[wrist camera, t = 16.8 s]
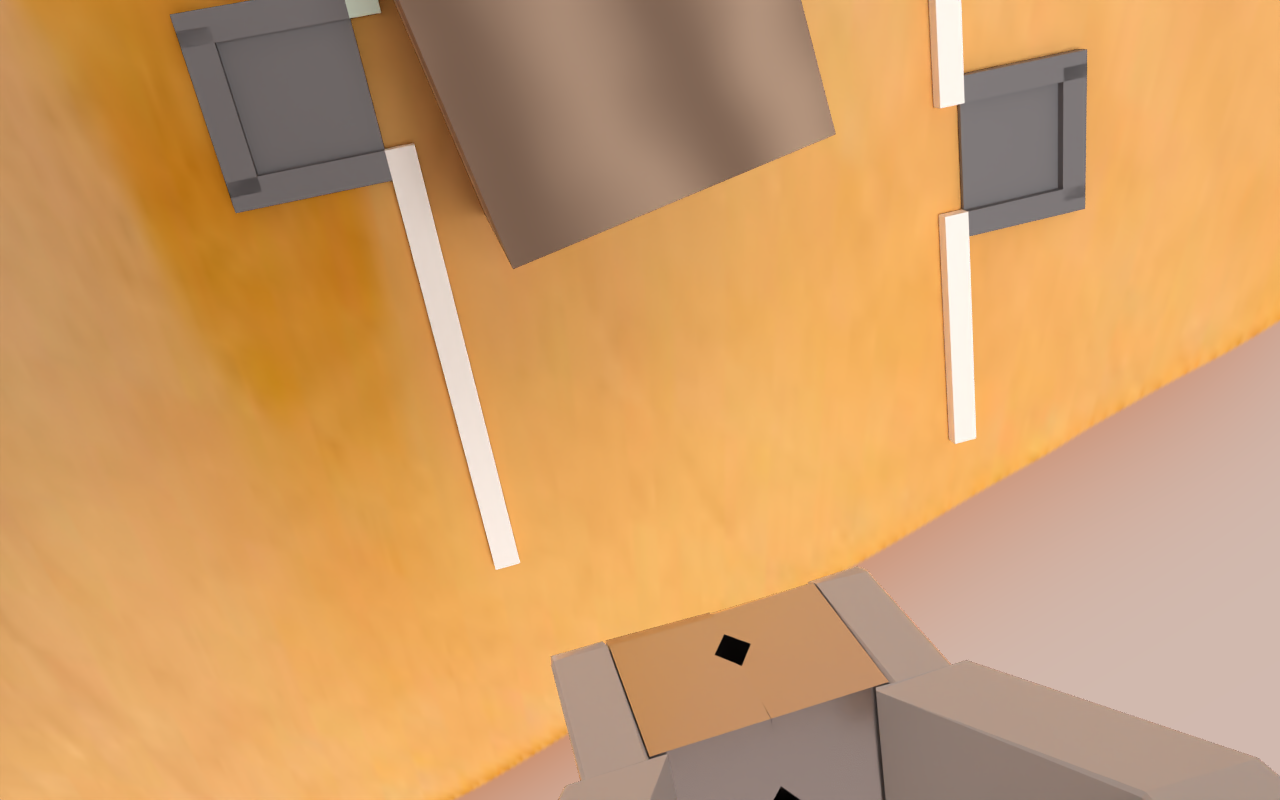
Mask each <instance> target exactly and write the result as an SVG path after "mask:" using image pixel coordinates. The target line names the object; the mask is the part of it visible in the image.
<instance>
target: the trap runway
mask: <svg viewBox="0 0 1280 800" xmlns="http://www.w3.org/2000/svg"><path fill="white" fill-rule="evenodd" d="M377 13H381V10H380V6H379V2H378V0H250V1H244V2H239V3H233V4H227V5H222V6H216V7H210V8H205V9H199V10H193V11H188V12H182V13H176V14H171V15H170V17H171V20H172V23H173V26H174V29H175V32H176V35H177V38H178V41H179V44H180V47H181V50H182V53H183V56H184V59H185V62H186V65H187V68H188V71H189V74H190V77H191V80H192V83H193V86H194V89H195V92H196V95H197V98H198V101H199V104H200V107H201V110H202V113H203V116H204V119H205V122H206V125H207V128H208V131H209V134H210V137H211V140H212V143H213V146H214V149H215V152H216V155H217V158H218V161H219V164H220V167H221V170H222V173H223V176H224V179H225V182H226V185H227V188H228V191H229V194H230V197H231V200H232V203H233V206H234V209H235V212H236V213H239V212H244V211H249V210H253V209H258V208H263V207H268V206H273V205H277V204H282V203H287V202H292V201H297V200H301V199H306V198H311V197H316V196H321V195H325V194H330V193H335V192H340V191H345V190H349V189H354V188H359V187H364V186H369V185H373V184H378V183H383V182H388V181H393V184H394V188H395V192H396V195H397V199H398V203H399V207H400V210H401V214H402V218H403V222H404V226H405V229H406V233H407V237H408V241H409V244H410V248H411V252H412V256H413V259H414V263H415V267H416V271H417V275H418V278H419V282H420V286H421V290H422V293H423V297H424V301H425V305H426V309H427V312H428V316H429V320H430V324H431V327H432V331H433V335H434V339H435V342H436V346H437V350H438V354H439V358H440V361H441V365H442V369H443V373H444V376H445V380H446V384H447V388H448V392H449V395H450V399H451V403H452V407H453V410H454V414H455V418H456V422H457V425H458V429H459V433H460V437H461V441H462V444H463V448H464V452H465V456H466V459H467V463H468V467H469V471H470V475H471V478H472V482H473V486H474V490H475V493H476V497H477V501H478V505H479V509H480V512H481V516H482V520H483V524H484V527H485V531H486V535H487V539H488V542H489V546H490V550H491V554H492V558H493V561H494V565H495V569H496V570H497V569H501V568H504V567H508V566H512V565H515V564H519V563H520V560H519V556H518V552H517V548H516V544H515V540H514V536H513V532H512V529H511V525H510V521H509V517H508V513H507V509H506V505H505V501H504V497H503V493H502V489H501V485H500V481H499V477H498V473H497V469H496V465H495V461H494V457H493V453H492V449H491V445H490V441H489V437H488V434H487V430H486V426H485V422H484V418H483V414H482V410H481V406H480V402H479V398H478V394H477V390H476V386H475V382H474V378H473V374H472V370H471V366H470V362H469V358H468V354H467V350H466V346H465V342H464V338H463V335H462V331H461V327H460V323H459V319H458V315H457V311H456V307H455V303H454V299H453V295H452V291H451V287H450V283H449V279H448V275H447V271H446V267H445V263H444V259H443V255H442V251H441V247H440V243H439V240H438V236H437V232H436V228H435V224H434V220H433V216H432V212H431V208H430V204H429V200H428V196H427V192H426V188H425V184H424V180H423V176H422V172H421V168H420V164H419V160H418V156H417V152H416V148H415V144H414V143H411V144H406V145H401V146H396V147H391V148H386V149H385V148H384V145H383V141H382V137H381V133H380V130H379V126H378V122H377V118H376V114H375V111H374V107H373V103H372V99H371V96H370V92H369V88H368V84H367V80H366V77H365V73H364V69H363V65H362V62H361V58H360V54H359V50H358V46H357V43H356V39H355V35H354V31H353V28H352V24H351V20H350V18H355V17H360V16H366V15H371V14H377ZM929 18H930V40H931V61H932V83H933V104H934V107H936V108H944V107H949V106H953V105H958V126H959V153H960V180H961V207H962V209H961V210H957V211H952V212H948V213H944V214H940V215H939V233H940V255H941V276H942V298H943V319H944V341H945V362H946V384H947V405H948V427H949V440H950V441H952V442H953V443H954V444H957V443H961V442H964V441H968V440H971V439H975V438H976V420H975V391H974V362H973V333H972V303H971V274H970V245H969V236H973V235H977V234H981V233H985V232H989V231H994V230H998V229H1002V228H1006V227H1010V226H1015V225H1019V224H1023V223H1027V222H1031V221H1036V220H1040V219H1044V218H1048V217H1052V216H1056V215H1061V214H1065V213H1069V212H1073V211H1077V210H1082V209H1085V172H1086V96H1087V50H1086V49H1077V50H1072V51H1067V52H1063V53H1058V54H1053V55H1048V56H1044V57H1039V58H1034V59H1029V60H1025V61H1020V62H1015V63H1010V64H1006V65H1001V66H996V67H991V68H987V69H982V70H977V71H972V72H968V73H964V71H963V41H962V12H961V0H929Z"/></svg>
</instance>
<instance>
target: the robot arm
mask: <svg viewBox="0 0 1280 800" xmlns="http://www.w3.org/2000/svg"><path fill="white" fill-rule="evenodd" d="M551 667H552V671H553V675H554V679H555V683H556V687H557V691H558V695H559V699H560V703H561V707H562V710H563V714H564V718H565V722H566V726H567V730H568V734H569V738H570V742H571V746H572V750H573V754H574V758H575V762H576V766H577V770H578V774H579V778H580V781H579V782H576V783H573V784H570V785H567V786H565V787H564V789H563V791H562V793H561V795H560V797H559V799H558V800H1280V776H1279V775H1278V774H1276V773H1275V772H1274V771H1273V770H1272V769H1271V768H1269V767H1268V766H1267V765H1266V764H1265V763H1264V762H1262V761H1261V760H1260V759H1259V758H1257V757H1253V756H1251V755H1248V754H1245V753H1242V752H1239V751H1236V750H1233V749H1230V748H1227V747H1224V746H1221V745H1218V744H1215V743H1212V742H1209V741H1206V740H1203V739H1200V738H1197V737H1194V736H1191V735H1188V734H1185V733H1182V732H1179V731H1176V730H1173V729H1170V728H1167V727H1165V726H1161V725H1159V724H1156V723H1153V722H1149V721H1147V720H1143V719H1141V718H1138V717H1135V716H1132V715H1129V714H1126V713H1123V712H1120V711H1117V710H1114V709H1111V708H1108V707H1105V706H1102V705H1099V704H1096V703H1093V702H1090V701H1087V700H1084V699H1081V698H1078V697H1075V696H1072V695H1069V694H1066V693H1063V692H1060V691H1057V690H1054V689H1051V688H1048V687H1046V686H1043V685H1040V684H1037V683H1034V682H1031V681H1028V680H1025V679H1022V678H1019V677H1016V676H1013V675H1010V674H1007V673H1003V672H1001V671H998V670H995V669H992V668H989V667H986V666H983V665H980V664H977V663H974V662H971V661H968V660H965V661H962V662H959V663H955V664H952V665H951V663H950V662H949V661H948V660H947V659H946V658H945V657H944V656H943V654H942V653H941V652H940V651H939V650H938V649H937V648H936V647H935V646H934V644H933V643H932V642H931V641H930V640H929V639H928V638H927V637H926V635H925V634H924V633H923V632H922V631H921V630H920V629H919V628H918V627H917V625H916V624H915V623H914V622H913V621H912V620H911V619H910V618H909V616H908V615H907V614H906V613H905V612H904V611H903V610H902V609H901V608H900V606H899V605H898V604H897V603H896V602H895V601H894V600H893V599H892V598H891V596H890V595H889V594H888V593H887V592H886V591H885V590H884V588H882V586H881V585H880V584H879V583H878V582H877V581H876V580H875V578H874V577H873V576H872V575H871V574H870V573H869V572H868V571H867V570H866V569H864V568H861V567H858V566H856V567H853V568H850V569H847V570H844V571H841V572H838V573H835V574H832V575H828V576H825V577H822V578H819V579H816V580H813V581H810V582H808V584H806V585H803V586H800V587H796V588H793V589H790V590H786V591H783V592H780V593H776V594H773V595H770V596H766V597H763V598H760V599H756V600H753V601H750V602H746V603H743V604H740V605H736V606H733V607H730V608H727V609H723V610H720V611H717V612H713V613H706V614H702V615H698V616H695V617H691V618H687V619H684V620H680V621H676V622H672V623H669V624H665V625H661V626H658V627H654V628H650V629H646V630H643V631H639V632H635V633H632V634H628V635H624V636H620V637H617V638H613V639H609V640H606V644H605V643H603V642H599V643H595V644H592V645H588V646H585V647H581V648H578V649H575V650H571V651H568V652H564V653H561V654H557V655H554V656H551Z"/></svg>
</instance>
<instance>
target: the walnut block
mask: <svg viewBox="0 0 1280 800" xmlns="http://www.w3.org/2000/svg"><path fill="white" fill-rule="evenodd" d="M393 1H394V3H395V5H396V8H397V10H398V12H399V15H400V17H401V19H402V22H403V24H404V26H405V29H406V31H407V33H408V36H409V38H410V40H411V43H412V45H413V47H414V50H415V52H416V54H417V57H418V59H419V61H420V64H421V66H422V68H423V71H424V73H425V75H426V78H427V80H428V82H429V85H430V87H431V89H432V92H433V94H434V96H435V99H436V101H437V103H438V106H439V108H440V110H441V113H442V115H443V117H444V120H445V122H446V124H447V127H448V129H449V131H450V134H451V136H452V138H453V141H454V143H455V145H456V148H457V150H458V153H459V155H460V157H461V160H462V162H463V164H464V167H465V169H466V171H467V174H468V176H469V178H470V181H471V183H472V185H473V188H474V190H475V192H476V195H477V197H478V199H479V202H480V204H481V206H482V209H483V211H484V213H485V215H486V217H487V219H488V221H489V223H490V225H491V227H492V229H493V231H494V233H495V235H496V237H497V239H498V241H499V243H500V244H501V246H502V248H503V250H504V252H505V254H506V256H507V258H508V260H509V262H510V264H511V266H512V268H513V269H515V268H517V267H519V266H522V265H524V264H527V263H529V262H531V261H534V260H536V259H539V258H541V257H543V256H546V255H548V254H551V253H553V252H555V251H558V250H560V249H562V248H565V247H567V246H570V245H572V244H574V243H577V242H579V241H582V240H584V239H586V238H589V237H591V236H594V235H596V234H598V233H601V232H603V231H605V230H608V229H610V228H613V227H615V226H617V225H620V224H622V223H625V222H627V221H629V220H632V219H634V218H637V217H639V216H641V215H644V214H646V213H649V212H651V211H653V210H656V209H658V208H660V207H663V206H665V205H668V204H670V203H672V202H675V201H677V200H680V199H682V198H684V197H687V196H689V195H692V194H694V193H696V192H699V191H701V190H704V189H706V188H708V187H711V186H713V185H715V184H718V183H720V182H723V181H725V180H727V179H730V178H732V177H735V176H737V175H739V174H742V173H744V172H747V171H749V170H751V169H754V168H756V167H758V166H761V165H763V164H766V163H768V162H770V161H773V160H775V159H778V158H780V157H782V156H785V155H787V154H790V153H792V152H794V151H797V150H799V149H802V148H804V147H806V146H809V145H811V144H813V143H816V142H818V141H821V140H823V139H825V138H828V137H830V136H833V135H835V134H836V133H835V129H834V126H833V122H832V118H831V114H830V110H829V106H828V102H827V99H826V95H825V91H824V87H823V83H822V79H821V75H820V72H819V68H818V64H817V60H816V56H815V52H814V49H813V45H812V41H811V37H810V33H809V29H808V25H807V22H806V18H805V14H804V10H803V6H802V2H801V0H393Z"/></svg>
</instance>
